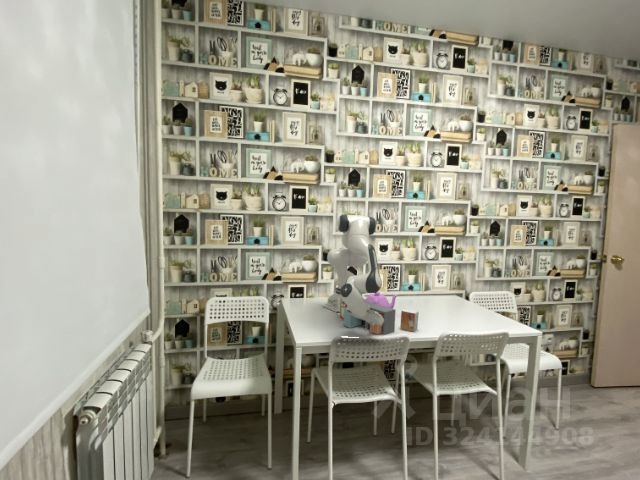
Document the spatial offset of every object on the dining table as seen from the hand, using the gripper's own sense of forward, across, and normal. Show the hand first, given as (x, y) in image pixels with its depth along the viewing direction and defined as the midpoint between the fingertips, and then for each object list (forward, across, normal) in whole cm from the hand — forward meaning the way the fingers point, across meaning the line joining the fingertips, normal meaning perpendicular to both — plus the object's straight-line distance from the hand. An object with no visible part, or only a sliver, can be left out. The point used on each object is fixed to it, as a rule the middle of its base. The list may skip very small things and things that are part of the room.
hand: (372, 323), depth 213 cm
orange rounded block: (+8, 0, 0) cm, 8 cm away
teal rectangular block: (+5, +16, +2) cm, 17 cm away
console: (+10, +8, -2) cm, 13 cm away
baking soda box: (+11, +27, -3) cm, 29 cm away
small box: (+20, -7, -12) cm, 24 cm away
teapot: (+27, +22, -19) cm, 40 cm away
